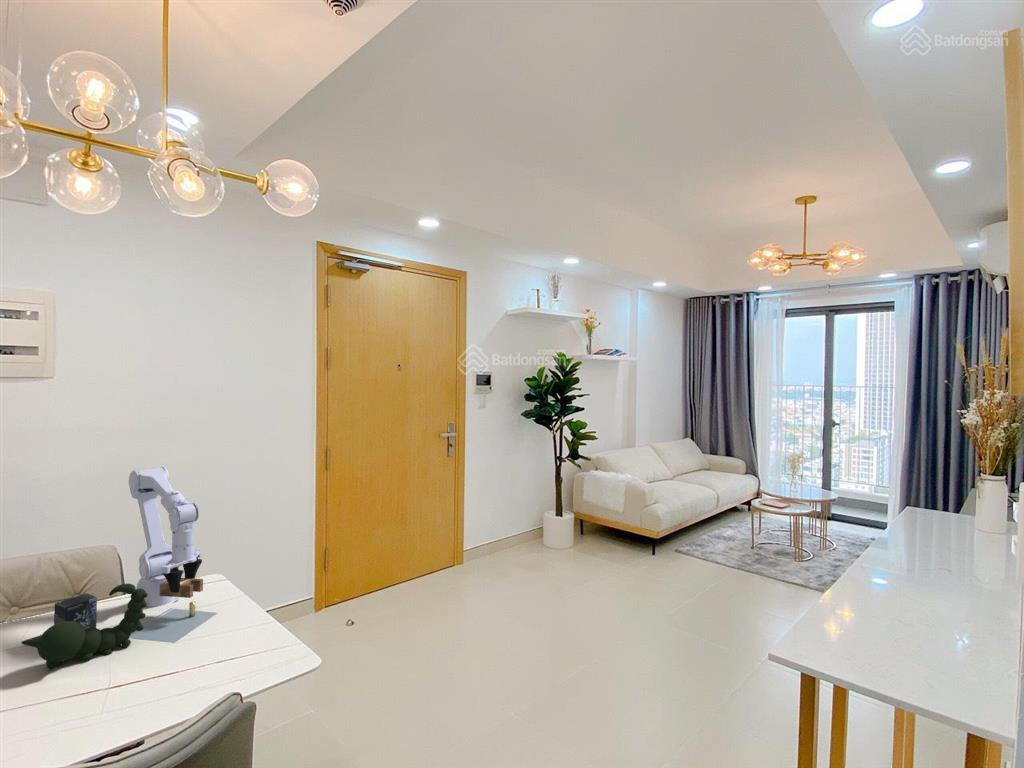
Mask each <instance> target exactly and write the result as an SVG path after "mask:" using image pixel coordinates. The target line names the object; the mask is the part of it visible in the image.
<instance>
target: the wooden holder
mask: <svg viewBox="0 0 1024 768" xmlns="http://www.w3.org/2000/svg"><path fill="white" fill-rule="evenodd" d="M203 591H204V579H203V578H195V579H193V578H185V577H181V580H180V588H179V592H177V593H174V592H171V591H170V587H169V584H168V581H165V582H163V583H162V584H160V596H168V597H175V598H184V599H185V598H186V599H187V598H188V599H189V598H190V599H191V598H192V597H194V593H195V592H196V593H201V592H203Z"/></svg>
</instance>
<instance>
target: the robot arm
mask: <svg viewBox="0 0 1024 768" xmlns="http://www.w3.org/2000/svg"><path fill="white" fill-rule="evenodd" d="M169 480H170V472H169V470H168V469H167V468H166V467H165V466H161V467H155V468H147V469H139V470H136V469H134V470H132V471H131V472H130V474H129V475H128V485H129V486H128V487H129V491H130V495H131V498H132V499H134V500H137V503H138V508H139V513H140V518H141V522H142V527H143V533H144V536H145V537H144V538H145V542H146V546H147V548H146V550H145V551H144V552H143V553H141V555H140V556H139V558H138V565H139V566H138V571H139V576H140V577H141V578H140V579H139V580H138V582H137V584H136V587H135V588H136V589H139V588H141V589H144V590H145V591H146V593H147V594H148V596H147V597H146V598H144V599H145V602H146V603H147V605H146V607H151V608H152V607H153V608H154V607H162V606H165V605H167V604H171V603H175V602H178V601H179V600H180V597H168V596H160V584H162V583H163V582H165V581H168V584H169V587H170V591H171V592H174V593H177V592H179V588H180V580H181V578H182V577H183V573H184V578H193V579H196V575H197V572H198V570H199V568H200V566H201V565H202V563H203V559H202V558H203V550H202V549H201V550H200V549H196V550H195V522H197V521H198V519H199V515H200V513H199V512H200V511H199V508H198V506H197V504H196V503H195V502H191V501H187V499H186V497H184V495H183V494H182V493H181V492H180V490H177V489H176V490H175V489H173V486H172V485H171V484H170V482H169ZM158 496H159V497H160V498H161V499H160V504H161V505H162V506H163V509H165V510H166V512H167V513H168V520H169V524H170V525H169V526H170V527H169V529H170V531H172V532H171V536H172V538H171V545H170V544H167V543H166V539H165V535H164V530H163V525H162V520H161V515H160V510H159V506H158V502H157V497H158ZM200 558H201V559H200ZM181 566H182V567H183V569H180V567H181Z"/></svg>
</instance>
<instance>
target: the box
mask: <svg viewBox="0 0 1024 768" xmlns="http://www.w3.org/2000/svg"><path fill="white" fill-rule="evenodd" d="M97 603H98V597H97V596H95V595H92V594H90V593H88V592H85V593H82V594H79V595H77V596H73V597H71V598H67V599H64V600H61V601H58V602H57V601H56V602H55V603H54V612H53V613H54V615H53V617H54V618H53V625H55V624H57V623H60V622H64V621H73V622H77V623H79V624H81V625H82V626H83V627H84V628H85V629H87V628H97V614H98V613H97V609H98V608H97V607H98V605H97Z"/></svg>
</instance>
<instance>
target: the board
mask: <svg viewBox="0 0 1024 768" xmlns="http://www.w3.org/2000/svg"><path fill="white" fill-rule="evenodd" d="M217 614H218V612H213V611H203V610H195V617H192V618H190V617H189V609H179V608H175V607H173V608H169V609H167V610H166V611H164V612H162V613H161V614H159V615H157V616H156V617H154V618H152V619H150V620H149V621H146V622H145V623H144V624H142V625H143V626H144V628H143V630H142V631H137V630H135V631H134V632H133V633H131V635H130V637H129V639H133V640H143V641H153V642H154V641H155V642H162V643H163V642H165V643H173V644H174V643H177V642H178V641H179V640H181V639H182V638H184V637H185V636H186V635H188V634H189V633H192V632H193V631H195V629H197V628H199V627H200V626H202V625H203V624H204V623H206V622H207V621H208V620H210V619H212V618H213V617H215V616H216V615H217Z"/></svg>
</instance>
